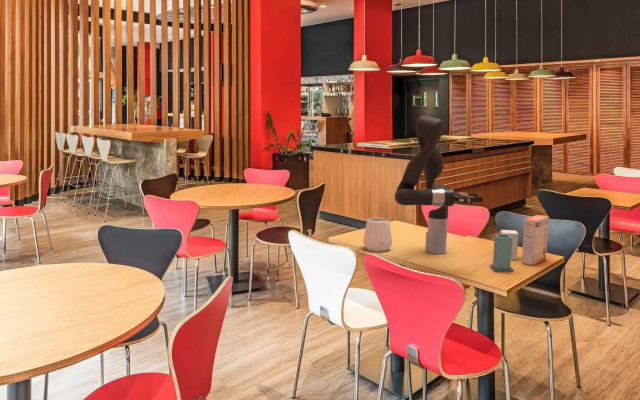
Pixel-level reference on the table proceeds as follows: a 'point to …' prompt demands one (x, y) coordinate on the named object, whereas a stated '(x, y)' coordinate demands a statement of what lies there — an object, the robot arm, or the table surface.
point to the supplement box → (514, 241)
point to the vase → (377, 235)
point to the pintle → (501, 269)
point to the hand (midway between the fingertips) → (480, 197)
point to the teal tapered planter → (502, 251)
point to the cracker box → (535, 239)
